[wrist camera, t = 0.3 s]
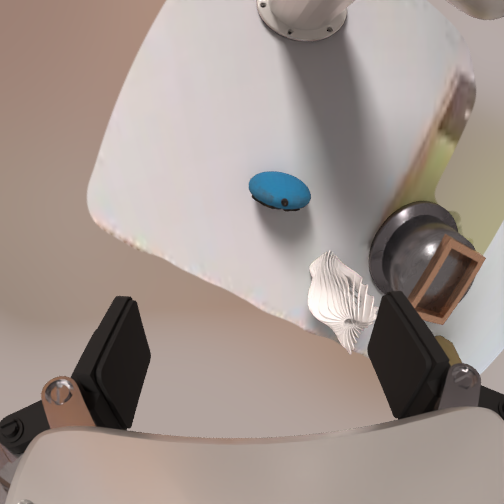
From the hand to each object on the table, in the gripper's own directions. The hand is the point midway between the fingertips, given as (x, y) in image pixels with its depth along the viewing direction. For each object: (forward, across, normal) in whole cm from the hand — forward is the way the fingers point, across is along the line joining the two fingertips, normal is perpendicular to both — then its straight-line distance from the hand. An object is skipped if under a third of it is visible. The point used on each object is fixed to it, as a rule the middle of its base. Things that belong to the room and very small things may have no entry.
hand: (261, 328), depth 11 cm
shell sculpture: (+34, -13, +16) cm, 40 cm away
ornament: (+34, -4, +3) cm, 35 cm away
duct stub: (+34, -30, +14) cm, 47 cm away
